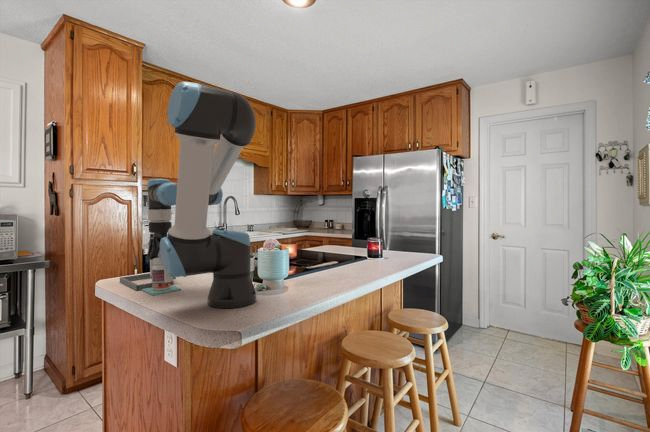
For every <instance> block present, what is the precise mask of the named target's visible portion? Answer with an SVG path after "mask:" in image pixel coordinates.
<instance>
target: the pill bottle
mask: <svg viewBox="0 0 650 432" xmlns="http://www.w3.org/2000/svg"><path fill="white" fill-rule="evenodd" d="M153 264H155V265H154V266H153V267H152V278H151V283H152V289H153V290H157V291H158V290H167V289H169V288H170V287H171V282H167V283H165V277H164V267H163V264H162V260H161V257H160V258H154V259H153Z"/></svg>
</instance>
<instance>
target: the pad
mask: <svg viewBox="0 0 650 432" xmlns="http://www.w3.org/2000/svg"><path fill="white" fill-rule="evenodd" d="M141 291H142V292H144V293H146V294H148V295H150V296H152V295H153V296H157V295H158V294H159V295H164V294H168V293H169V294H170V293H174V292H179V291H182V288H181V287H177V286H176V285H174V284H173V285H171V287H170V288H169V289H167V290H158V291H157V290H153V289H152V287H151V288H145V289H142V290H141ZM163 293H164V294H163Z"/></svg>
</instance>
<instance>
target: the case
mask: <svg viewBox="0 0 650 432" xmlns="http://www.w3.org/2000/svg"><path fill="white" fill-rule="evenodd" d="M158 257H159V258H160V257H161V255H160V250H159V253H158ZM176 278H177V277H173V280H176ZM147 279H152V277H150V272H148V273H143V274H135V275H128V276H122V277H119V283H120V284H121V285H124V286H126V287H128V288H130V289H131V290H134V291H136V292H140V291H142V289H145V288H151V287H152V282H148V283H142V284H138V283H135V281H141V280H147ZM171 285H173V286H174V281H173V282H171Z"/></svg>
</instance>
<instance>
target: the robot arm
mask: <svg viewBox="0 0 650 432" xmlns="http://www.w3.org/2000/svg"><path fill="white" fill-rule="evenodd" d="M256 121H257V119H256V115H255V111H254V109H253V107H252V105H251V104H250V102H249V100H248V99H246V98H245V97H244V96H243V95H241V94H240V93H238V92H235V91H231V90H225V89H222V88H218V87H214V86H210V85H206V84H203V83H199V82H190V81H180V82H178V83H177V84H176V85H175V87H174V89H173V90H172V92H171V95H170V97H169V101H168V106H167V122H168V124H169V126H170V127H172V128H174V134H175V136H176V137H177V139H179V153H178V169H177V170H178V171H177V183H175V182H171V180H169V179H167V178H150V179H149V180H148V181H147V198H148V199H147V202H148V204H147V206H148V210H147V212H148V213H147V214H148V215H147V216H148V221H149V222H148V232H149V244H148V250H147V258H148V259H149V273H150V277H152V267H153V266H154V265H155V264H153V259H154V258H159V257H158V253H159V250H160V255H161V260H162V264H163V267H164V277H165V283H167V282H173V283H174V279H173V277H176V278H179V277H180V278H182V277H184V278H186V277H189V276H196V275H203V274H210V273H212V275H213V276H212V277H213V278H212V281H211V282H212V283H211V285H210V290H209V292H208V296H207V304H208V306H209V307H212V308H216V309H234V308H235V309H236V308H243V307H246V306H249V305H252V304H254V303H256V301H257V292H256V290H255V285H254V283H253V281H252V277H251V246H252V245H251V237H250V235H249V233H247V232H246V231H245V232H243V231H236V230H235V231H234V230H225V229H223V230H222V229H213V230H212V232H211V230H210V229H209V228H208V227H207V222H208V213H209V206H215V205H217V206H218V205H219V204H221V202H222V201H223V195H224V194H223V189H222V186H223V184H224V182H225V180H226V179H227V177H228V176H229V174H230V171H231V170H232V169H233V166H234V165H235V163H236V161H237V159H238V158H239V156H240V154H241V152H242V150H243V149H244V147H247V146H249V145H250V143H251V142H252V139H253V138H254V136H255V132H256V127H257V126H256V125H257V123H256ZM172 206H175V214H174V223H173V224H172V215H173V212H172Z"/></svg>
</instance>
